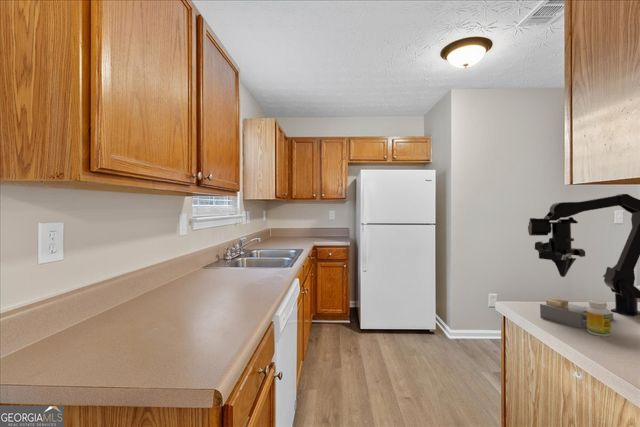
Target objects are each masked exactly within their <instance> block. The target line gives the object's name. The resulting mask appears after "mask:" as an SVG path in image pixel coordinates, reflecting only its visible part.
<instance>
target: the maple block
mask: <svg viewBox="0 0 640 427" xmlns="http://www.w3.org/2000/svg"><path fill="white" fill-rule="evenodd" d="M545 305H548V306H553V307H557V308H561V309H565V310H569V307H568V305H569V300H566V299H565V300H564V299H560V298H555V297H553V298H549V299H545Z"/></svg>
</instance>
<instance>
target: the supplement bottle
mask: <svg viewBox="0 0 640 427" xmlns="http://www.w3.org/2000/svg"><path fill="white" fill-rule="evenodd" d="M588 305H589V306H588V307H587V327H586V330H587V332H588V333H589V334H592V335H594V336H598V337H609V336H611V333H612V332H611V330H612V329H611V327H612V326H611V325H612V324H611V320H610V313H611V312H610V311H611V310H609V309H607V307H608V303H607V302H606V301H603V300H599V299H590V300H589V301H588Z"/></svg>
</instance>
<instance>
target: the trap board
mask: <svg viewBox="0 0 640 427" xmlns="http://www.w3.org/2000/svg"><path fill="white" fill-rule="evenodd" d="M568 307H569V310H565V309H561V308H557V307H553V306H548V305H546V304H544V303H540V304H539V312H540V313H539V314H540V316H539V317H540V318H542V319H543V318H544V319H547V320H550V321H553V322H554V321H555V322H557V323H562V324H564V325H569V326H572V327H575V328H579V329H585V328H587V308H588V307H587V306H582V305H577V304H573V303H568ZM613 319H614V313H613V312H610V321H611V320H613Z"/></svg>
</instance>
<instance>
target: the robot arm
mask: <svg viewBox="0 0 640 427" xmlns="http://www.w3.org/2000/svg"><path fill="white" fill-rule="evenodd" d="M611 207H621V208H622V209H623V210H625V211H626V212H628V213H630V214H631V218H630V220H631V229H630V232H629V234H628V237H627V239H626V242H625V244H624V246H623V247H622V248H623V249H622V251H621V253H620V256H619V258H618V260H617V263H616V264H615V265H614V266H613V267H611V266H607V267H606V269H605V270H606V271H605V273H604V274H603V275H602V277H603V278H604V279H603V280H604V281H603V282H604V283H605V286H607V287H608V288H610V290H611V292H612V293H615V294H614V301H615V302H614V304H615V305H614V306H615V308H612V309H610V311H611V312H612V313H613V312H614V313H619V314H621V315H622V314H623V315H626V316H627V315H628V316H633V317H634V316H638V315H640V310H639V308H638V299H640V289H639V288H638V287H636V286H635V280H636V275H635V268H636V266H637V263H638V261H639V259H640V199H639V198H636V197H634V196H632V195H630V194H628V193H621V194H619V193H618V194H616V195H611V196H607V197H605V196H604V197H600V198H594V199H588V200H583V201H571V202H570V201H566V202H565V201H564V202H563V201H562V202H555V203H553V204H552V205H551V206H550V207H549V211H548V213H547V214H546V215H545V216H543V217H544V218H543V217H542V218H537V217H536V218H534V217H532V218H531V217H530V218H529V222H528V226H527V232H528V236H534V237H535V236H536V237H537V236H543V237H544V236H548V235H549V234H551V233H552V234H551V237H550V238H549V239H548V241H547V242H543V241H542V240H541V241H536V242H535V243H534V250H535V251H537V252H538V259H540V260H548V261H552V262H553V263H554V265H555V266H556V269H557V271H558V273H559V275H560V277H562V278H563V277H564V278H565V277H566V275H567V274H568V272H569V270H570V269H571V267H572V265H573V264H574V262H575V261H576V260H577V258H575V257H573V256H578V257H581V258H582V257H586V251H585V249H584V248H576V247H572V242H574V241H575V238H574V237H572V226H571V225H572V224H578V223H579V221H577V220H575V219H574V217H572V216H575V215H578V214H580V213H583V212H587V211H595V210H601V209H604V208H605V209H606V208H611Z"/></svg>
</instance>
